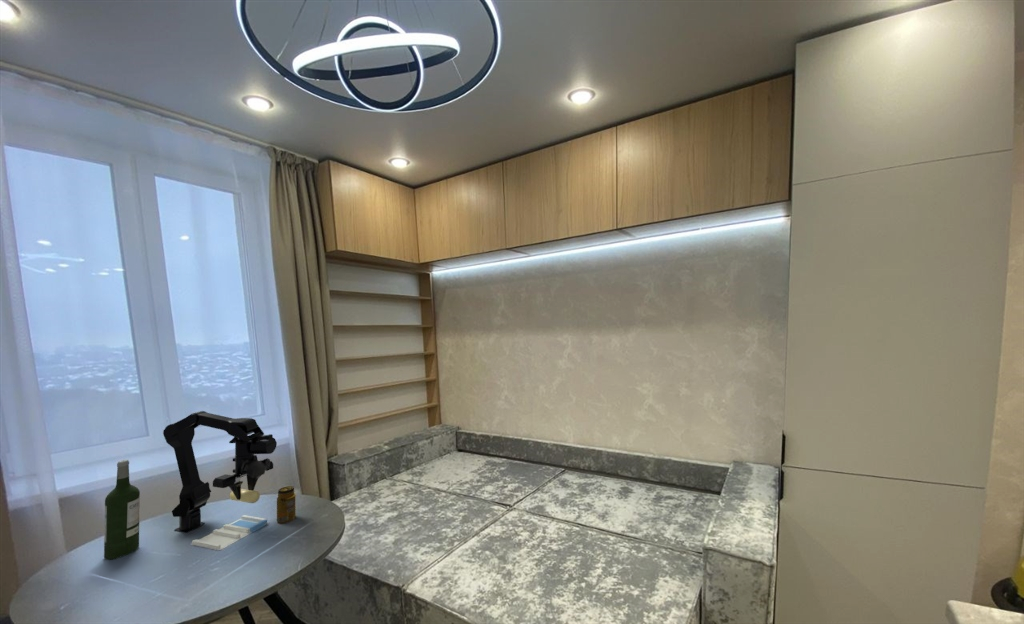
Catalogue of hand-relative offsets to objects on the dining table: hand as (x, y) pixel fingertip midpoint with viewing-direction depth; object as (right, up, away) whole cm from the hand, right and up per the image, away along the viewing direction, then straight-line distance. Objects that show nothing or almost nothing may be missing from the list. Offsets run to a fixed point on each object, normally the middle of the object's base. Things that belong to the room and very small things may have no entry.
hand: (244, 496), depth 135 cm
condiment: (+14, -11, +2) cm, 18 cm away
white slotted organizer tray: (-1, -11, -5) cm, 12 cm away
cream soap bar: (0, -2, 0) cm, 2 cm away
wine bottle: (-30, -12, -14) cm, 35 cm away
